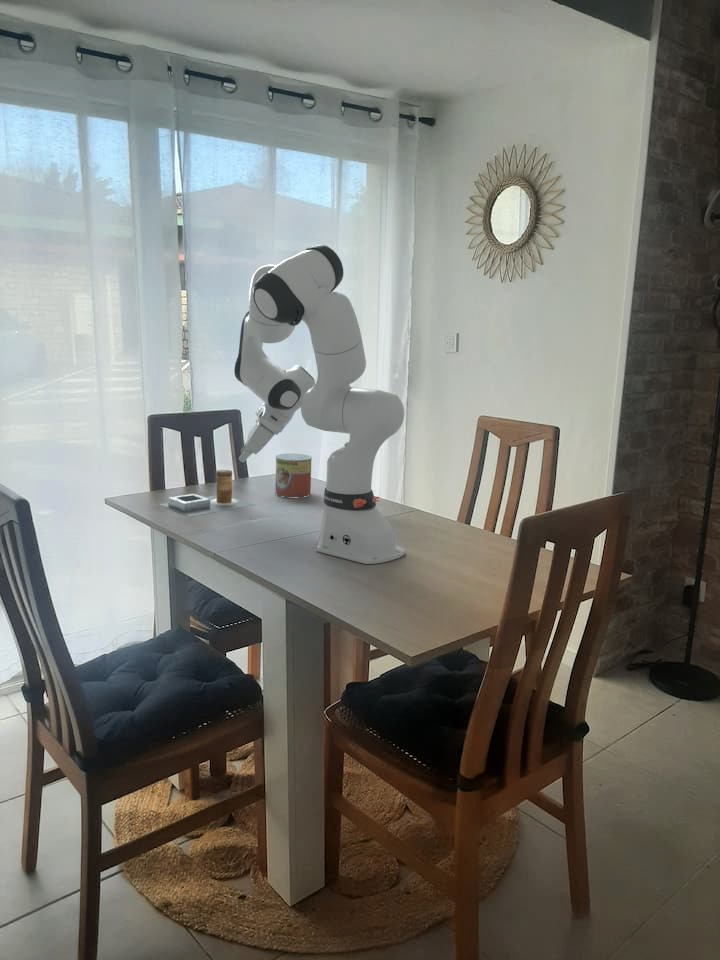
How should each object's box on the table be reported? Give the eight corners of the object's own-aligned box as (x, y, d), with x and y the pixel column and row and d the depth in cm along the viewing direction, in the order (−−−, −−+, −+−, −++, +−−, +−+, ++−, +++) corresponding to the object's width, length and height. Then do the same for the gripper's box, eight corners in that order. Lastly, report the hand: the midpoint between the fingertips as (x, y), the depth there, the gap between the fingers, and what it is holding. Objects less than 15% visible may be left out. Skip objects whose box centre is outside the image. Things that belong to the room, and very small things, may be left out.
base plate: (255, 508, 210) (255, 504, 210) (189, 520, 195) (189, 516, 195) (224, 497, 221) (224, 493, 221) (159, 508, 206) (159, 504, 206)
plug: (234, 501, 212) (235, 471, 210) (222, 504, 209) (222, 473, 207) (225, 498, 215) (226, 469, 213) (213, 500, 212) (213, 470, 210)
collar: (210, 507, 205) (210, 499, 204) (184, 512, 199) (184, 503, 198) (194, 501, 210) (194, 493, 210) (168, 505, 205) (168, 497, 204)
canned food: (267, 493, 228) (268, 456, 226) (291, 488, 238) (292, 452, 235) (294, 500, 222) (295, 461, 220) (317, 494, 231) (319, 457, 229)
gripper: (263, 405, 209) (234, 442, 211) (261, 417, 189) (230, 458, 191) (281, 418, 210) (252, 455, 212) (280, 431, 191) (249, 472, 193)
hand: (241, 457), depth 202 cm, fingers open, 8 cm apart
